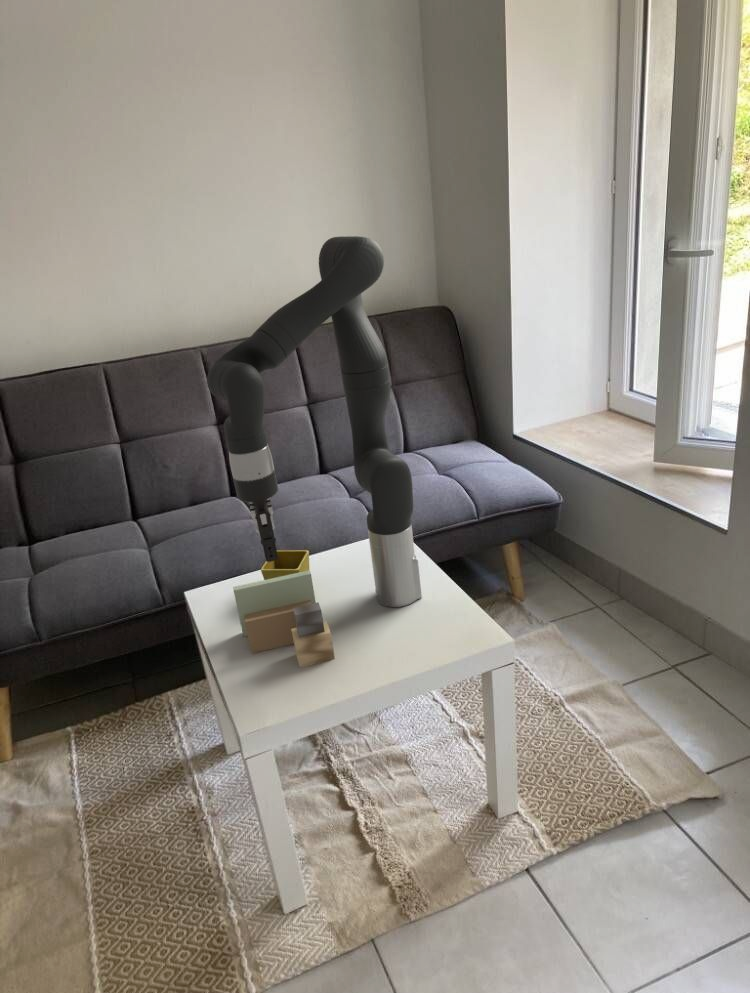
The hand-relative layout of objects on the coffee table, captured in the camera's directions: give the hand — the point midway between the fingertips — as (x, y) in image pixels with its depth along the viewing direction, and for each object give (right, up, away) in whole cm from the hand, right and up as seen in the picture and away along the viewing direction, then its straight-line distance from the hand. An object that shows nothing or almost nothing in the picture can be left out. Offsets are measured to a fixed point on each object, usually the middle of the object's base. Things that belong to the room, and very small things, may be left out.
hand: (269, 550), depth 147 cm
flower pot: (+1, -12, +30) cm, 33 cm away
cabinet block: (+8, -21, +7) cm, 24 cm away
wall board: (+1, -18, +15) cm, 24 cm away
